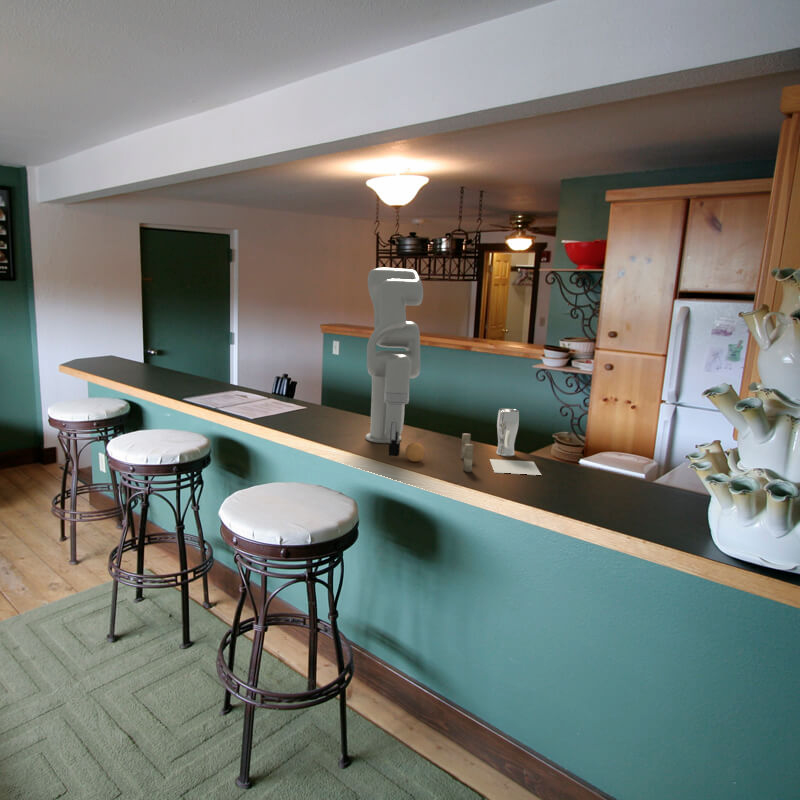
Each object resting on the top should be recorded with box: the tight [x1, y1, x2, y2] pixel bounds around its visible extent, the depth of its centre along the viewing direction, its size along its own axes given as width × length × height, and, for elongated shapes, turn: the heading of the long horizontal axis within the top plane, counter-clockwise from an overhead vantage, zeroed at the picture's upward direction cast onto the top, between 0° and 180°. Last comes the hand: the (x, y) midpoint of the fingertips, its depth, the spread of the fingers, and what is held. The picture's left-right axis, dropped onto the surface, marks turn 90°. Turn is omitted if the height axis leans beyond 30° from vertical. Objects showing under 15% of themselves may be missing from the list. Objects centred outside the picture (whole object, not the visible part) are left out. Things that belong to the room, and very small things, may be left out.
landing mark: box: [489, 458, 542, 477], centre depth 176 cm, size 14×14×1 cm
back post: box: [460, 433, 472, 460], centre depth 182 cm, size 3×3×8 cm
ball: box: [405, 441, 426, 463], centre depth 177 cm, size 6×6×6 cm
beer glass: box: [495, 407, 520, 457], centre depth 189 cm, size 7×7×15 cm
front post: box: [462, 443, 474, 473], centre depth 169 cm, size 3×3×8 cm
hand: (393, 455), depth 177 cm, fingers closed
